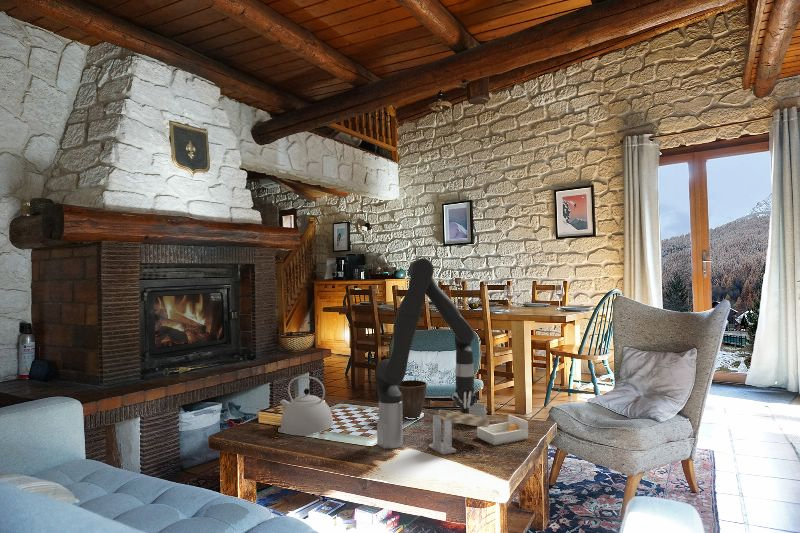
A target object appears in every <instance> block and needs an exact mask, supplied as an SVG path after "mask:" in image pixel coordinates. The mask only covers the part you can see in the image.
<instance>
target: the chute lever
mask: <svg viewBox="0 0 800 533" xmlns="http://www.w3.org/2000/svg"><path fill="white" fill-rule="evenodd" d="M437 415H438V418H441V420H442V421H443V420H449V419H450V420H451V421H452V423H457V424H463V425H468V426H469V425H470V426H476V427H488V425H490V419H487V418H486V419H482V418H481V416H476V415H470V414H464V413H461V412H456V411H453V410H452V411H451V410H447V409H439V410H438V414H437Z"/></svg>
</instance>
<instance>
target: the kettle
mask: <svg viewBox="0 0 800 533" xmlns="http://www.w3.org/2000/svg"><path fill="white" fill-rule="evenodd" d="M299 379H312V380H314V381H316V382H317V383H319V384H320V386H321V389H322V397H321V398H320V397H318V396H316V395H311V394H310V392H311V391H310V389H309V388H305V389H303V394H304V395H299V396H297V397H295V398H294V399H293V397H292V395H291V391H290V390H291V384H293V382H294V381H295V380H299ZM287 394H288V396H289V398H290V402H289V401H288V400H285V399H282V400H279V403H280V404H281V405H282V406H283V407H284V410H283V413H282V415H281V420H280V431H281V432H282V433H284V434H287V435H291V436H311V435H310V434H313V433H316V432H320V431H324V430H327V429H329V428H331V427H332V426H333V427H334V422H333V421H334V420H333V419H334V418H333V414H332V410H331V409H330V407H329V404H327V402H325V401H324V398H325V396H326V390H325V386H324V384H323V383H322V381H320V379H318V378H316V377H313V376H310V375H309V376H308V375H304V376H303V375H302V376H301V375H300V376H296V377H294V378H292V379H291V380H290V381H289V383H288V385H287ZM313 435H314V434H313Z"/></svg>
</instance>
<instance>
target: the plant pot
mask: <svg viewBox="0 0 800 533" xmlns="http://www.w3.org/2000/svg"><path fill="white" fill-rule="evenodd" d="M427 385H428V383H427V381H426V382H425V381H423V380H415V379H414V380H412V379H406V380H402V382H401V383H399V384H398V388H399V390H400V392H401V393H402V418H403V417H408V418H417V417H419V418H421V414H422V411H423V408H424V404H425V398H426V394H427Z"/></svg>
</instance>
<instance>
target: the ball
mask: <svg viewBox="0 0 800 533" xmlns="http://www.w3.org/2000/svg"><path fill="white" fill-rule="evenodd" d="M515 430H518V427H517V426H516V425H515V424H511V425H509V427H508V431H515Z"/></svg>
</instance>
